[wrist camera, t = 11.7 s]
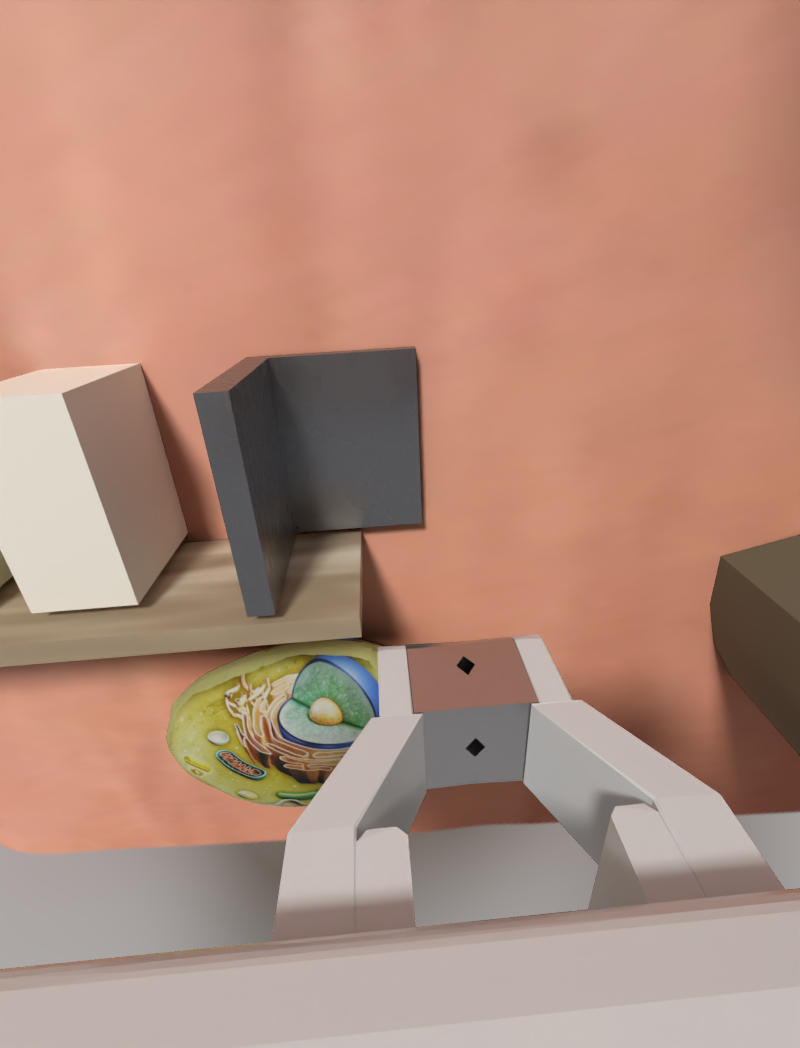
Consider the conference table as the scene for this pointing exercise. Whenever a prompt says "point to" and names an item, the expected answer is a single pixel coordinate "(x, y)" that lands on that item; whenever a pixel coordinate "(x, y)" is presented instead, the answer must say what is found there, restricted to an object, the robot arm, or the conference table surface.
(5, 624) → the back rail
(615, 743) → the robot arm
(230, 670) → the cell model
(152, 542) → the book ivory
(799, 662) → the book
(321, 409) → the bookend
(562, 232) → the conference table surface
